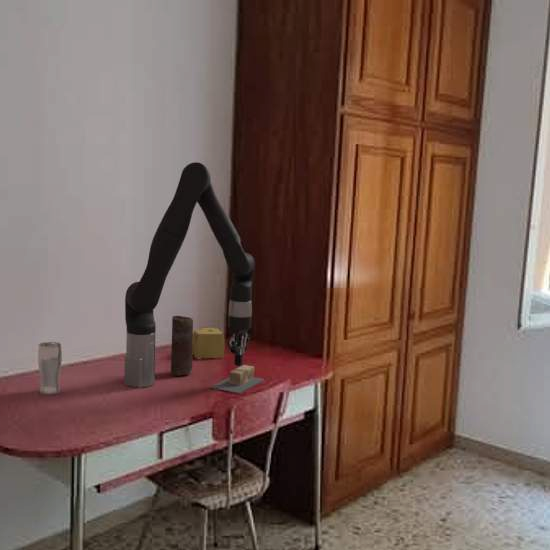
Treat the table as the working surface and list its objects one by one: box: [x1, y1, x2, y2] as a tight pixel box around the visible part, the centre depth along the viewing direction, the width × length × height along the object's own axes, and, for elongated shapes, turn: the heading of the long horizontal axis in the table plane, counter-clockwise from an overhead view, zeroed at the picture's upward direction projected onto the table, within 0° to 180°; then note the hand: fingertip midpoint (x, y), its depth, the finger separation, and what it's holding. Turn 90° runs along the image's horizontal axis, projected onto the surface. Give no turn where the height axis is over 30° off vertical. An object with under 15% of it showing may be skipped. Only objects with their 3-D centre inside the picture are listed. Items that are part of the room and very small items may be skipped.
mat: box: [209, 376, 265, 395], centre depth 238 cm, size 18×11×1 cm, turn 155°
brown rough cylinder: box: [170, 315, 194, 377], centre depth 245 cm, size 8×7×20 cm
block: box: [229, 364, 255, 385], centre depth 240 cm, size 4×4×10 cm
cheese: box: [192, 327, 225, 360], centre depth 272 cm, size 10×11×10 cm
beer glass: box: [37, 341, 63, 395], centre depth 220 cm, size 7×7×15 cm
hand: (238, 365), depth 237 cm, fingers closed
